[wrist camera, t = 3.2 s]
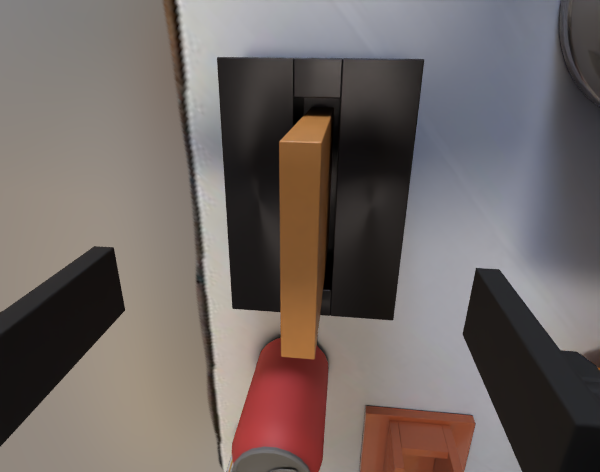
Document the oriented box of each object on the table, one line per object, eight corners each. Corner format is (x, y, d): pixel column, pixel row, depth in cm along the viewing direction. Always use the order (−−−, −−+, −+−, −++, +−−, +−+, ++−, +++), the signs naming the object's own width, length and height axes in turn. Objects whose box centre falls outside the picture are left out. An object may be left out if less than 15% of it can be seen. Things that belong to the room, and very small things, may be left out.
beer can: (341, 376, 38) (338, 502, 27) (281, 397, 40) (255, 522, 29) (308, 322, 36) (290, 434, 25) (246, 347, 38) (204, 460, 27)
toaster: (406, 61, 27) (424, 59, 21) (383, 284, 34) (391, 335, 27) (246, 59, 28) (216, 57, 22) (254, 276, 35) (233, 323, 29)
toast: (334, 107, 28) (321, 142, 15) (328, 241, 32) (314, 359, 19) (311, 107, 28) (278, 140, 15) (308, 240, 32) (280, 357, 19)
